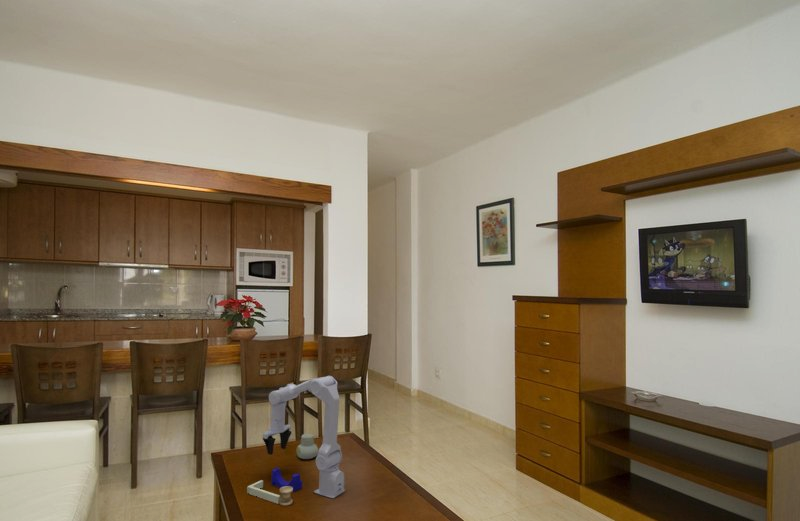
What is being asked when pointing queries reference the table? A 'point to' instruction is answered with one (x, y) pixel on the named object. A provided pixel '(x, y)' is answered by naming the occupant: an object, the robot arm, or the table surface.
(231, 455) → the table surface
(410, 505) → the table surface
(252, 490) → the notched fence
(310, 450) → the air freshener
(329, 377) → the robot arm
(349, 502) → the table surface
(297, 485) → the blue curved block
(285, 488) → the bobbin
